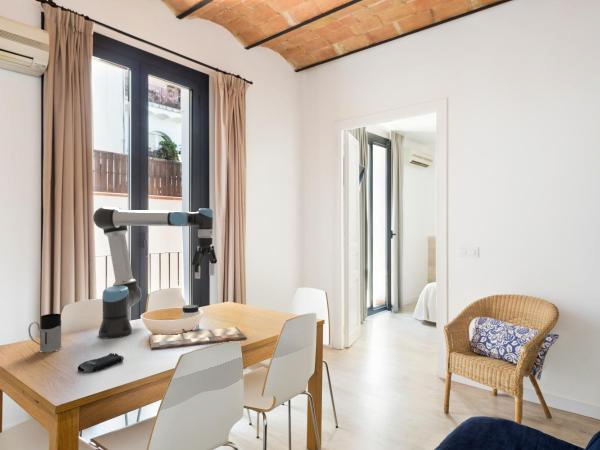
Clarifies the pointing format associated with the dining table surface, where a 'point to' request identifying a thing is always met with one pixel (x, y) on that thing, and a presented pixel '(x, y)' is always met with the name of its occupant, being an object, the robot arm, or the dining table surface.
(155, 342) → the board
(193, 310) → the jar
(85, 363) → the electronic device
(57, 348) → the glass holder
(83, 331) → the dining table surface
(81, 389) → the dining table surface
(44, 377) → the dining table surface
